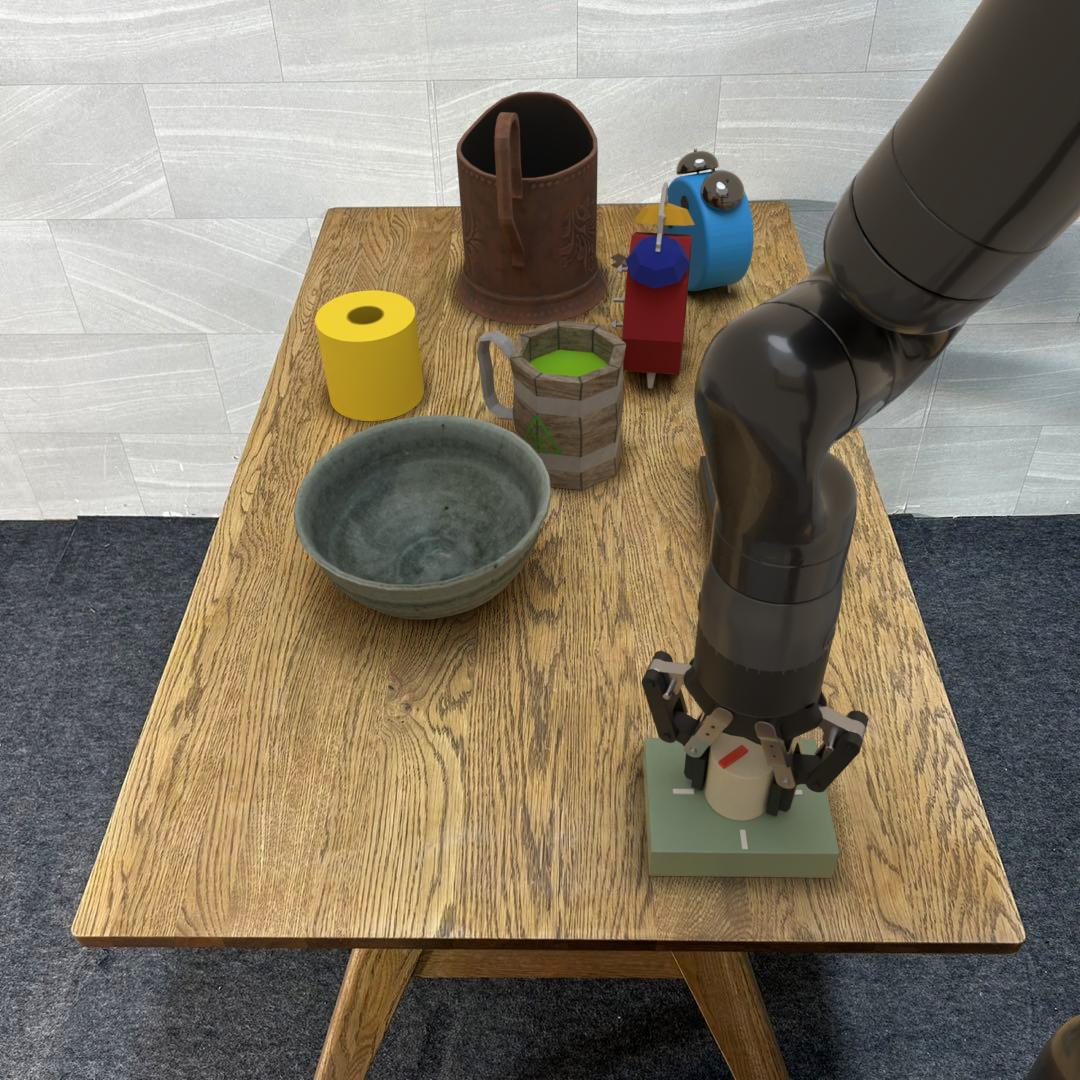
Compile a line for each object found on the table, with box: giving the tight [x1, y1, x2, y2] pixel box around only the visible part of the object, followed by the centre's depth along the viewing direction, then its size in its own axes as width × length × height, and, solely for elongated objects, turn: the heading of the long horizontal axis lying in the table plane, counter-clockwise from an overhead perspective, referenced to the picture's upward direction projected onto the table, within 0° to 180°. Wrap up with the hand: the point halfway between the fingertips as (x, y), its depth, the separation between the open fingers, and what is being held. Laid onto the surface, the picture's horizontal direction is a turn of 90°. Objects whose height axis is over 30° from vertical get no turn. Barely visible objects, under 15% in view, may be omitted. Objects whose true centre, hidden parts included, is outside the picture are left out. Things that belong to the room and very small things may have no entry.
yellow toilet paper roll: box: [314, 289, 425, 422], centre depth 108 cm, size 10×10×9 cm
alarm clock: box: [665, 148, 755, 294], centre depth 122 cm, size 13×6×15 cm, turn 18°
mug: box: [476, 320, 626, 491], centre depth 99 cm, size 16×11×12 cm
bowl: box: [293, 414, 552, 620], centre depth 87 cm, size 21×21×10 cm
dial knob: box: [704, 732, 775, 821], centre depth 68 cm, size 4×4×5 cm
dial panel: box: [642, 737, 840, 879], centre depth 71 cm, size 12×9×3 cm
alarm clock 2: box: [605, 181, 695, 390], centre depth 108 cm, size 15×9×20 cm, turn 171°
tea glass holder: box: [455, 91, 608, 325], centre depth 117 cm, size 18×24×25 cm
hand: (737, 790), depth 70 cm, fingers closed on dial knob, 4 cm apart
